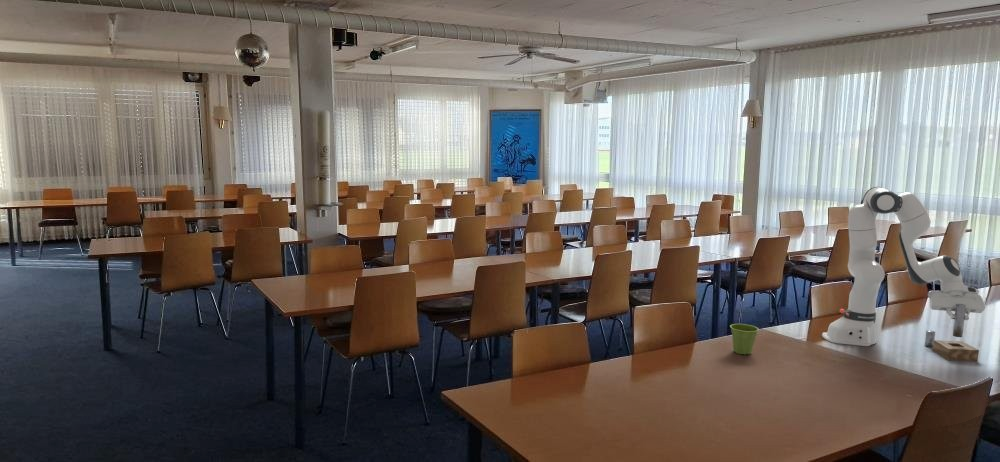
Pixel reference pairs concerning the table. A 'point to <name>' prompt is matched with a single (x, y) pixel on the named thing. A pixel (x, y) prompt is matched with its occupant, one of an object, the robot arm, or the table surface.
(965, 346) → the hole block
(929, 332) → the short pin
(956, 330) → the long pin
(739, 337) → the plant pot
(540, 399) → the table surface
